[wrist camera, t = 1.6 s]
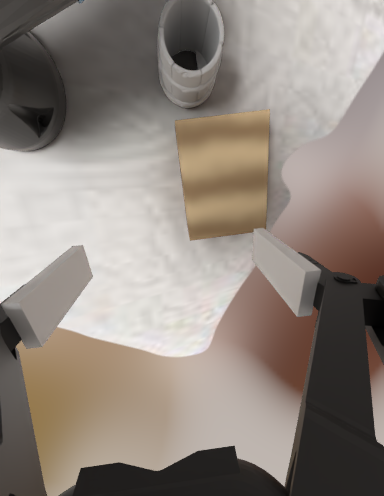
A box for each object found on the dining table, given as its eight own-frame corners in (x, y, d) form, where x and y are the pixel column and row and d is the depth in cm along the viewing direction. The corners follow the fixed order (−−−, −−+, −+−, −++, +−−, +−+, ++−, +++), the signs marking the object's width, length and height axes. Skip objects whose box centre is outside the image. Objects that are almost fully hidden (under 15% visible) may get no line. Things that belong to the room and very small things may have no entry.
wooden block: (175, 129, 30) (174, 120, 24) (252, 120, 30) (269, 109, 25) (188, 229, 36) (190, 240, 31) (252, 220, 36) (265, 230, 31)
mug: (158, 106, 29) (146, 68, 18) (163, -7, 24) (151, -152, 13) (209, 114, 30) (228, 82, 18) (222, 6, 25) (259, -120, 14)
